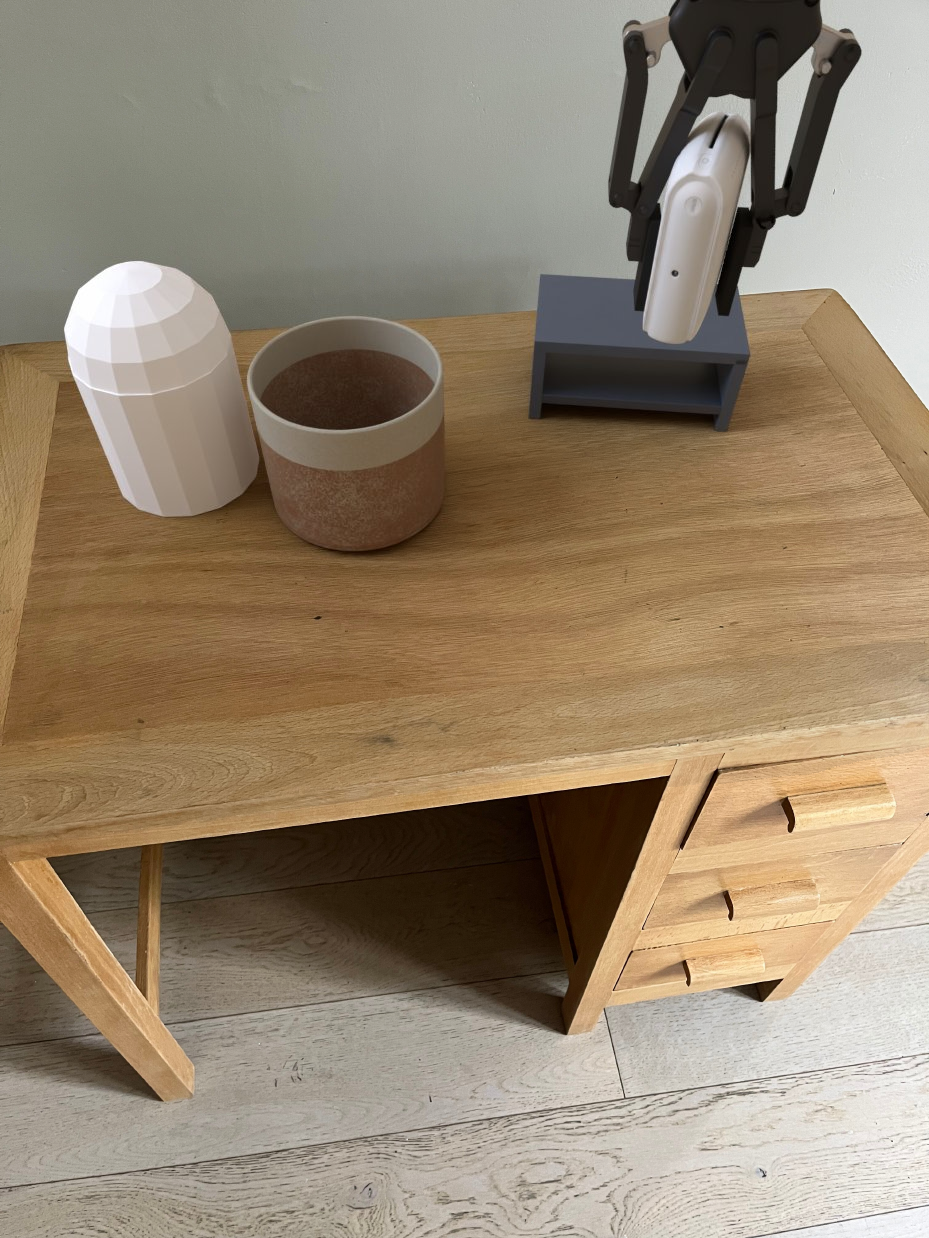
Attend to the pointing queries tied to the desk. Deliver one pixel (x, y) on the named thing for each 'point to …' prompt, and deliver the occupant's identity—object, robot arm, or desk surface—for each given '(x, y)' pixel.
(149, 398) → the container
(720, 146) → the photo printer
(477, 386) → the desk surface
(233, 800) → the desk surface
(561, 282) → the shelf
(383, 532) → the planter
